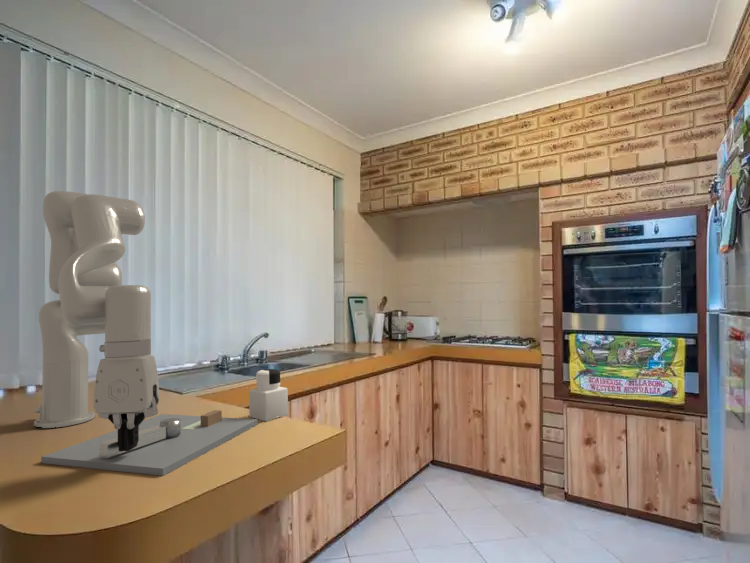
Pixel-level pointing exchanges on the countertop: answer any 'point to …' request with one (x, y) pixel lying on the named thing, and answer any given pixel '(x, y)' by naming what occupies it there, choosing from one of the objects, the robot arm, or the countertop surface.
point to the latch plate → (156, 445)
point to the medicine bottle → (268, 396)
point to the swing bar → (144, 437)
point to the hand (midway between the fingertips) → (128, 448)
